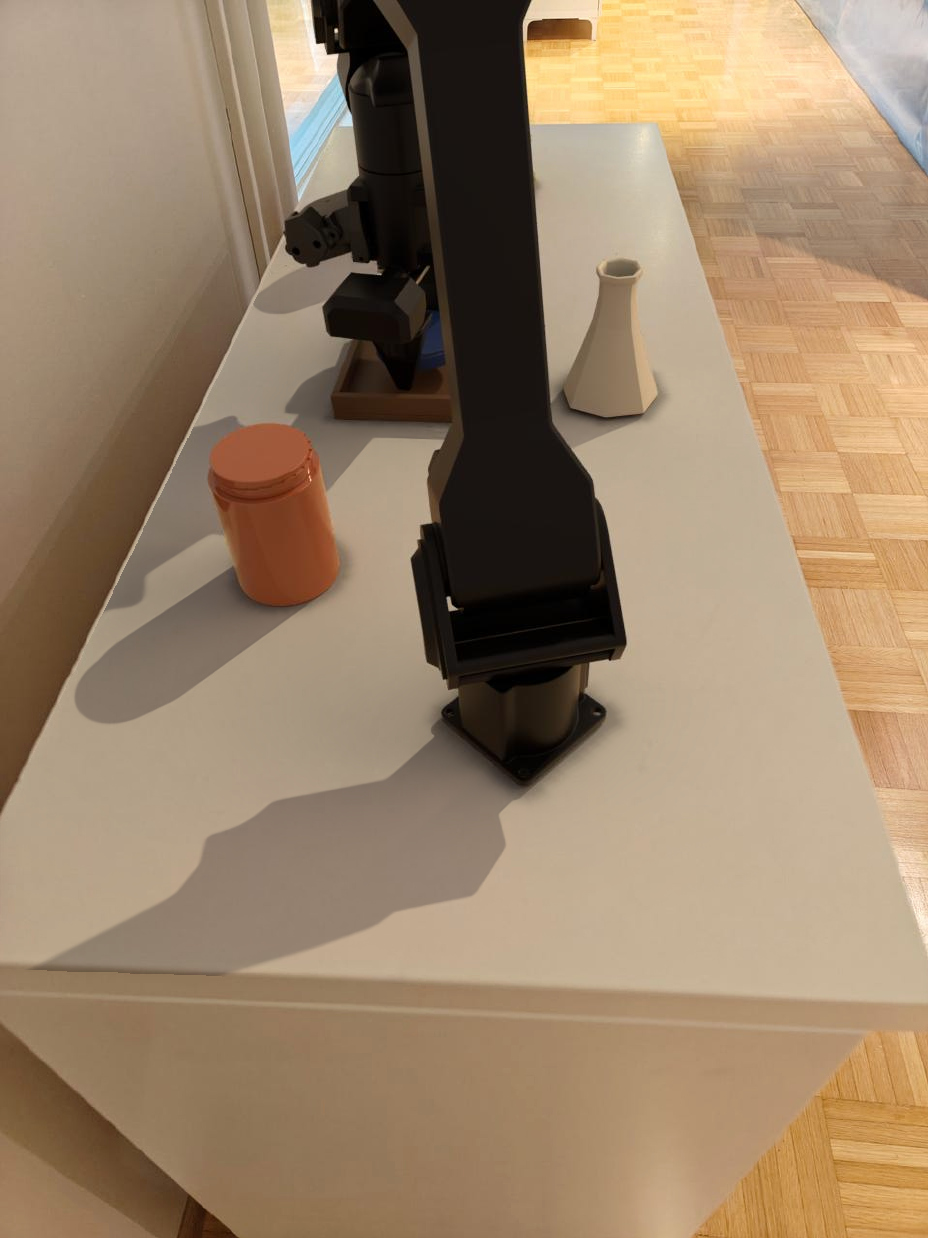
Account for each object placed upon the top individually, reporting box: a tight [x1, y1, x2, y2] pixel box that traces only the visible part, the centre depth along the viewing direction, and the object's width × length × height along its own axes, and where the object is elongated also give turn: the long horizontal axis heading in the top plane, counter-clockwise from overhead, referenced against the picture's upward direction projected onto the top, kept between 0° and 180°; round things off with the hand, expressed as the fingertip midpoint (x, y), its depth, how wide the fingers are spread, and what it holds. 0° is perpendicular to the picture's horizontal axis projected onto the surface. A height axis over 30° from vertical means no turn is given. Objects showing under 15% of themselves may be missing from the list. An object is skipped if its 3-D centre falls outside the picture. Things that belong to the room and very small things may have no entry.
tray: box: [330, 339, 452, 423], centre depth 73 cm, size 13×11×2 cm
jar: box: [207, 422, 341, 607], centre depth 55 cm, size 6×6×9 cm
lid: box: [375, 310, 446, 371], centre depth 71 cm, size 7×7×1 cm
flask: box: [562, 257, 659, 418], centre depth 66 cm, size 7×7×10 cm
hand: (418, 365), depth 73 cm, fingers closed on lid, 7 cm apart
